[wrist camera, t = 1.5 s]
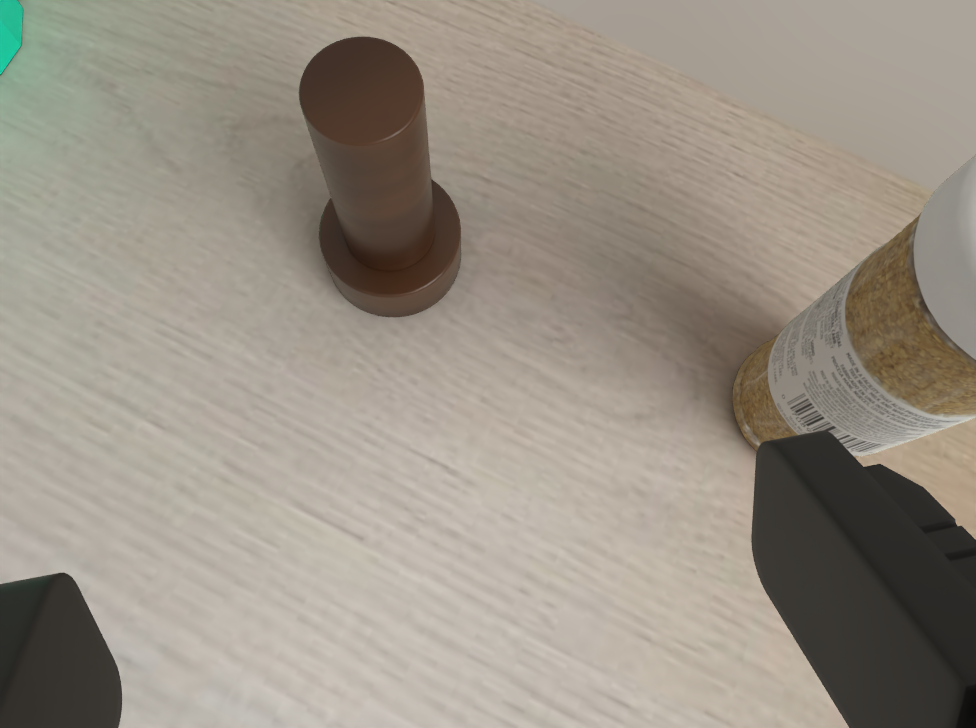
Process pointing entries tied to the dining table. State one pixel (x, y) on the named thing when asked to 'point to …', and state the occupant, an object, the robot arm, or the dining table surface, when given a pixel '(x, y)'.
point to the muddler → (379, 179)
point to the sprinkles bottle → (879, 341)
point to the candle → (9, 30)
